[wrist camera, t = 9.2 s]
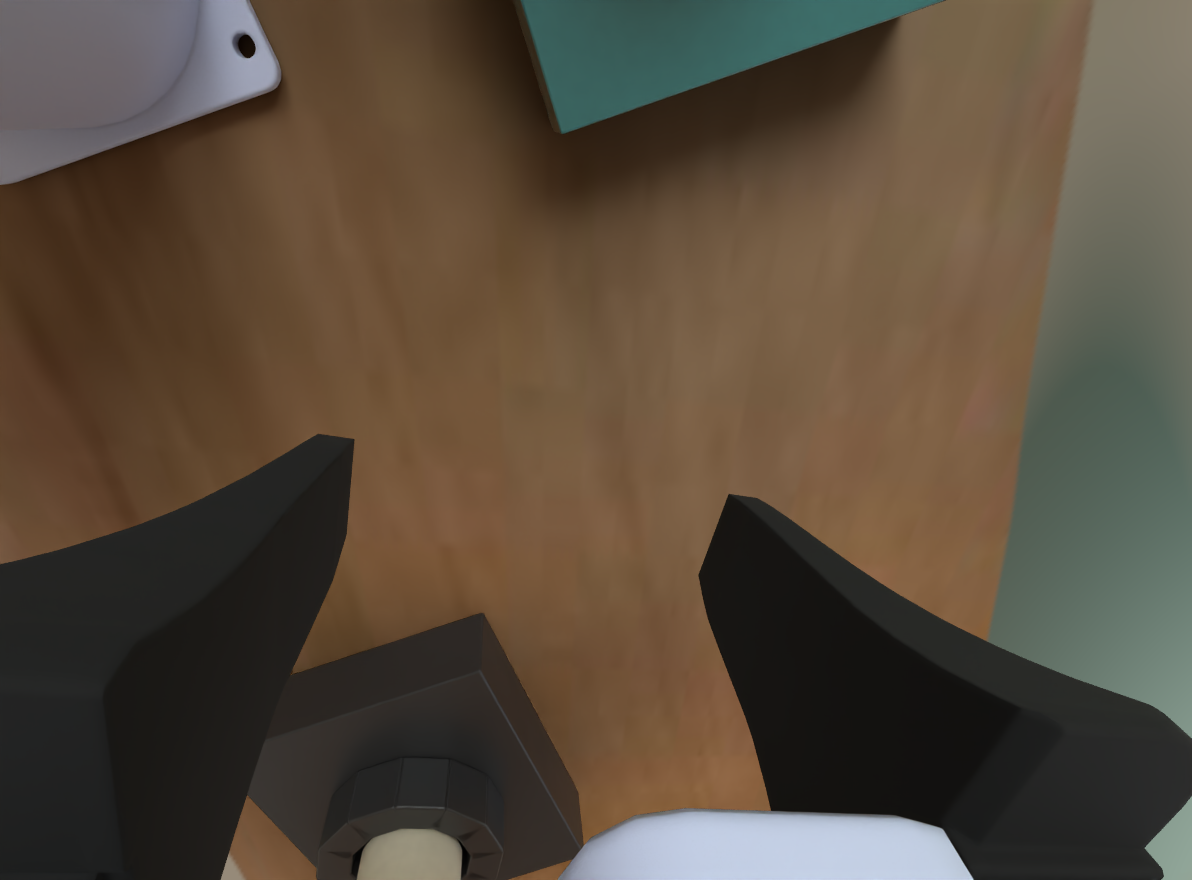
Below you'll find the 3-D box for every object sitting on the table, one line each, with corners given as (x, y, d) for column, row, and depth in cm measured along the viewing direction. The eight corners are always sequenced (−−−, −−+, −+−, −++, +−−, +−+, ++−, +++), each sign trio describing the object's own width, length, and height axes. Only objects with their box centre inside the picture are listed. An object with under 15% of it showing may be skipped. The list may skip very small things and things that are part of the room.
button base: (242, 690, 25) (185, 813, 21) (483, 611, 25) (478, 719, 20) (380, 854, 31) (359, 979, 26) (578, 791, 30) (590, 906, 26)
